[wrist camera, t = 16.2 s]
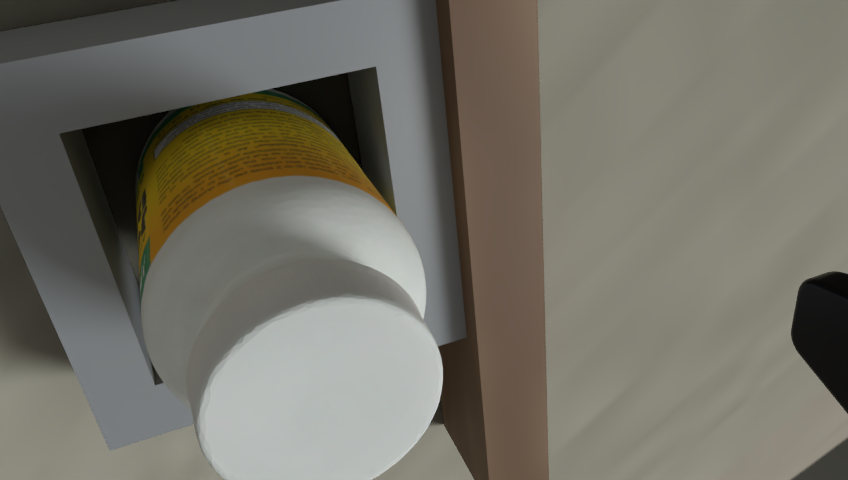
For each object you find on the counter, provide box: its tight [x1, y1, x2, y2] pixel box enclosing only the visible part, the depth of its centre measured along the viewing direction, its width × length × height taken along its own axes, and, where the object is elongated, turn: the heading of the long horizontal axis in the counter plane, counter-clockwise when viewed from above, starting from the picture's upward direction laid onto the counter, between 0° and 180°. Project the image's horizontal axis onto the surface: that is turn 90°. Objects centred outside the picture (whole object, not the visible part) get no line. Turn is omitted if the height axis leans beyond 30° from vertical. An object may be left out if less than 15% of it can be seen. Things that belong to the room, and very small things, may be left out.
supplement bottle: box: [135, 89, 443, 480], centre depth 16 cm, size 5×5×10 cm
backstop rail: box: [436, 0, 549, 480], centre depth 19 cm, size 2×22×4 cm, turn 6°
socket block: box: [0, 0, 467, 450], centre depth 18 cm, size 10×10×3 cm
